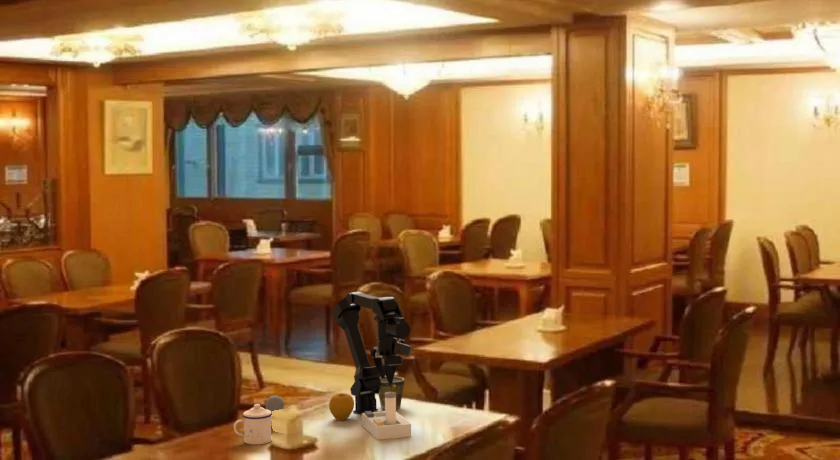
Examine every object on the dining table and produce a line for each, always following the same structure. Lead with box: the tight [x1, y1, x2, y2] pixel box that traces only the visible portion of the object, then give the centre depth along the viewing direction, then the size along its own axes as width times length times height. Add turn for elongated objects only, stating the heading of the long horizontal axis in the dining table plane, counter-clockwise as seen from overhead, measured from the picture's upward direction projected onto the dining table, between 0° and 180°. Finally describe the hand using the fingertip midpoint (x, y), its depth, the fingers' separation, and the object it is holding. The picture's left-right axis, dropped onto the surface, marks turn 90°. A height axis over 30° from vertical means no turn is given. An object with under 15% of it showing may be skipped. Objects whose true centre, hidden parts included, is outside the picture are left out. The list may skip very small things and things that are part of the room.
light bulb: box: [265, 395, 285, 412], centre depth 364 cm, size 6×6×10 cm
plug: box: [384, 392, 397, 425], centre depth 350 cm, size 4×4×14 cm
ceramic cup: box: [377, 375, 405, 410], centre depth 385 cm, size 13×10×10 cm
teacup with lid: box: [233, 403, 273, 446], centre depth 345 cm, size 12×9×12 cm
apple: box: [328, 392, 355, 421], centre depth 371 cm, size 8×8×9 cm
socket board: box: [361, 410, 412, 441], centre depth 356 cm, size 19×11×5 cm, turn 17°
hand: (386, 381), depth 369 cm, fingers open, 9 cm apart
